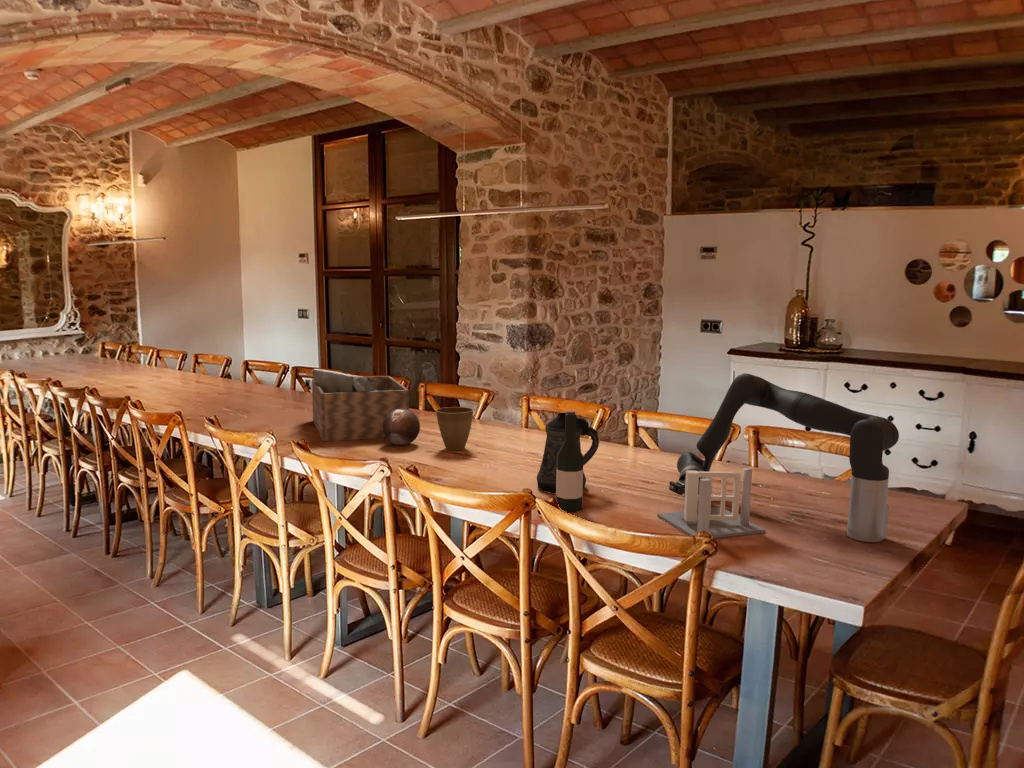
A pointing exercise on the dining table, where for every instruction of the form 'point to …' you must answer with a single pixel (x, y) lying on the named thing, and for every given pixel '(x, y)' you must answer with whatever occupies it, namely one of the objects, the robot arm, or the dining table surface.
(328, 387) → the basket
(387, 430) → the wooden sphere
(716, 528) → the gate frame
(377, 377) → the crate
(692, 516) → the gate
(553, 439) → the beer stein
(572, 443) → the wine bottle
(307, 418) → the dining table surface
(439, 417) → the plant pot
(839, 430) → the robot arm
